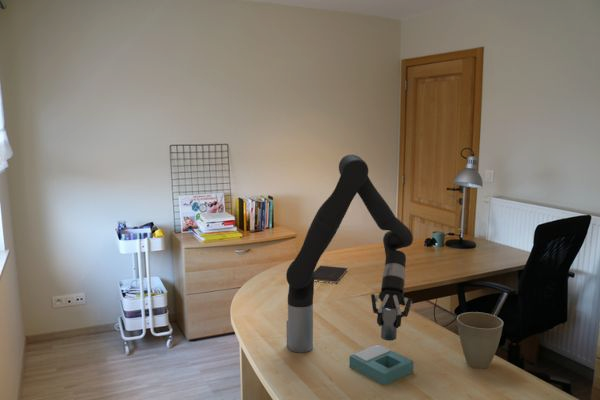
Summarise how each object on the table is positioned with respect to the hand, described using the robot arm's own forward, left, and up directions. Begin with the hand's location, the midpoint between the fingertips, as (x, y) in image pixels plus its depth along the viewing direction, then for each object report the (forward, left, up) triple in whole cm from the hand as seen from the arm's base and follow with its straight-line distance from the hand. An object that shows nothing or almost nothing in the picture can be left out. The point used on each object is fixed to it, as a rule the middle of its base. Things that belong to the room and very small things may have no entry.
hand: (388, 326), depth 166 cm
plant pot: (+14, +30, -17) cm, 37 cm away
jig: (-4, +1, -17) cm, 17 cm away
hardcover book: (-92, +54, -18) cm, 108 cm away
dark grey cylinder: (-1, +2, -5) cm, 5 cm away
